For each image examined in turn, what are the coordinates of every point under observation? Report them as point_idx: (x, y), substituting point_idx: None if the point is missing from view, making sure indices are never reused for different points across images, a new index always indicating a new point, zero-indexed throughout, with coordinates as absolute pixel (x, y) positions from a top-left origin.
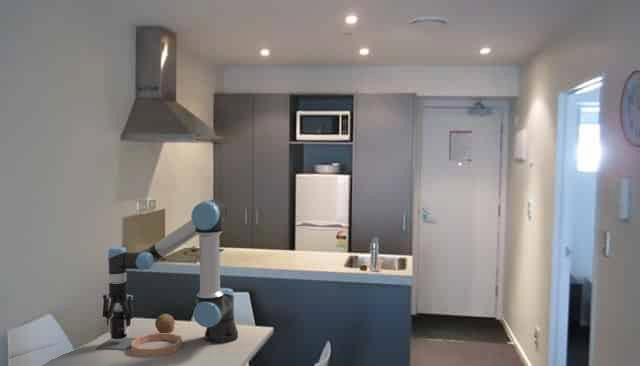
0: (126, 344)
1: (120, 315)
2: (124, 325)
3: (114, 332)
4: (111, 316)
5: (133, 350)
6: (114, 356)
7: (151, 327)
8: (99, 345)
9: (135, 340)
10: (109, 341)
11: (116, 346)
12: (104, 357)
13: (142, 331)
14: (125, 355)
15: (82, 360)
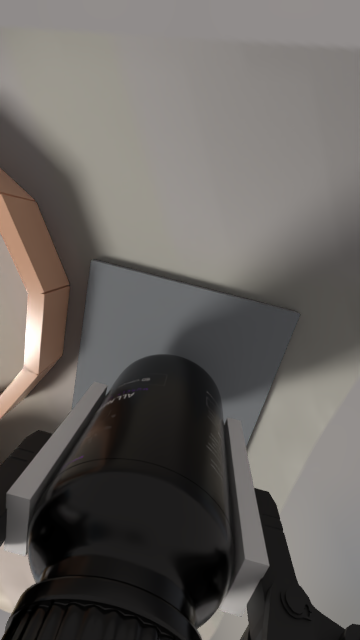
0: (115, 341)
1: (41, 585)
2: (69, 434)
3: (176, 380)
4: (246, 628)
5: (6, 183)
6: (128, 134)
7: None
8: (284, 346)
9: (28, 320)
10: (237, 406)
11: (167, 312)
12: (195, 116)
13: None
14: (59, 151)
15: (355, 48)
